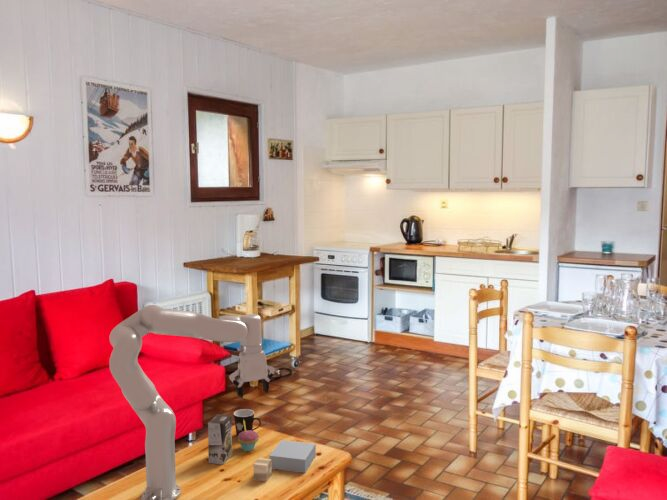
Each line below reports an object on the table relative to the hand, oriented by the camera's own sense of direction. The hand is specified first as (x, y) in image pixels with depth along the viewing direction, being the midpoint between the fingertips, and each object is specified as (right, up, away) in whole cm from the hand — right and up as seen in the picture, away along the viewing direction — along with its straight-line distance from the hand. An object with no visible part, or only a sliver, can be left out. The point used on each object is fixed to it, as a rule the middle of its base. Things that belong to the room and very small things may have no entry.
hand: (253, 394), depth 214 cm
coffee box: (-14, -28, +12) cm, 34 cm away
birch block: (+4, -30, -2) cm, 30 cm away
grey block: (+14, -28, +10) cm, 33 cm away
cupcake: (-5, -27, +21) cm, 35 cm away
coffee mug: (-7, -26, +32) cm, 42 cm away
